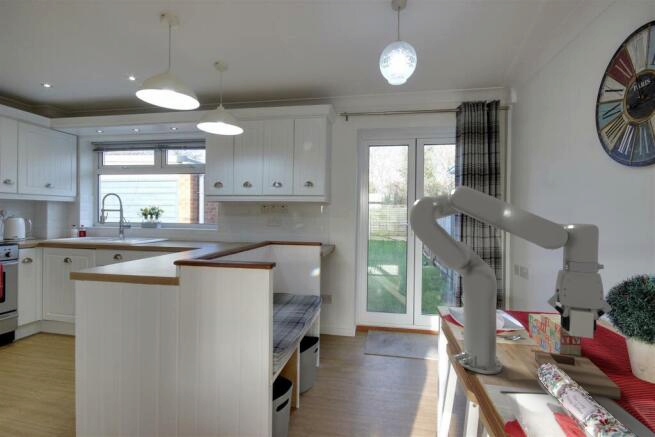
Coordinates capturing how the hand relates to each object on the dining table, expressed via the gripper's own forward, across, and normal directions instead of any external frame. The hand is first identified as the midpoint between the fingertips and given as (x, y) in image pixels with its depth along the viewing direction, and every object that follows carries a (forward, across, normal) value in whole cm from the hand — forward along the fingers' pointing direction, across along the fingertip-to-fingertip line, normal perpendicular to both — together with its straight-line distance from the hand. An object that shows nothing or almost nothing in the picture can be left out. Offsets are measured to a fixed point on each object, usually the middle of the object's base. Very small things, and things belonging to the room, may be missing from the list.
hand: (577, 330), depth 84 cm
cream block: (+1, 0, 0) cm, 1 cm away
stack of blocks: (+16, -2, -25) cm, 30 cm away
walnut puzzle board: (+16, -1, -4) cm, 16 cm away
